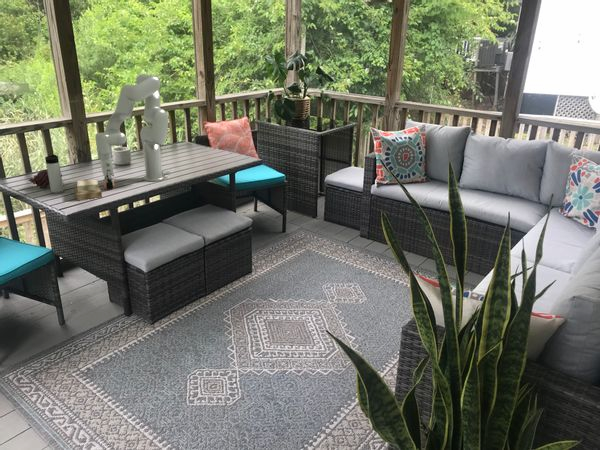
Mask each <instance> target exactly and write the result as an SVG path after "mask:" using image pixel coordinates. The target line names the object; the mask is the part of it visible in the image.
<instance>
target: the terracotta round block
mask: <svg viewBox="0 0 600 450" xmlns="http://www.w3.org/2000/svg"><path fill="white" fill-rule="evenodd" d="M107 179H108V178H107ZM106 182H107V180H106V179H105V178H104V179H102V183H103V190H106V191H110V190H114V189H115V187H116V186H115V180H114V178H112V182H113V189H107V184H106Z"/></svg>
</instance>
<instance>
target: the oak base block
mask: <svg viewBox="0 0 600 450" xmlns="http://www.w3.org/2000/svg"><path fill="white" fill-rule="evenodd" d="M73 188H74V194H75V195H74V196H75V198H76V200H77V202H80V200H81V201H88V199H89V200H96V199H95V198H97V199H103V196H102V194H103V193H102V190H101V188H100V187H99V185H98V188H99V191H98V192H87V193H78V188H77V187H73Z"/></svg>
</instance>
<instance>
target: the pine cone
mask: <svg viewBox="0 0 600 450" xmlns="http://www.w3.org/2000/svg"><path fill="white" fill-rule="evenodd" d="M61 177H62V178H63V174H62V173H61ZM28 181H29V182H30V183H32V184H33V185H36V186H37V187H39V188H45V189H46V188H47V187H48V186H50V183H49V177H48V172H47V169H43V170H39V172H38V173H36V175H35V174H34V175H33V177H30V178H29V179H28Z"/></svg>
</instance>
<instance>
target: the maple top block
mask: <svg viewBox="0 0 600 450" xmlns="http://www.w3.org/2000/svg"><path fill="white" fill-rule="evenodd" d="M76 183H77V184H76V186H77V187H76V188H78V193H87V192H98V191H99V188H100V187H99V188H98V186H99V180H98V178H93V179H81V180H77V182H76Z"/></svg>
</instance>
